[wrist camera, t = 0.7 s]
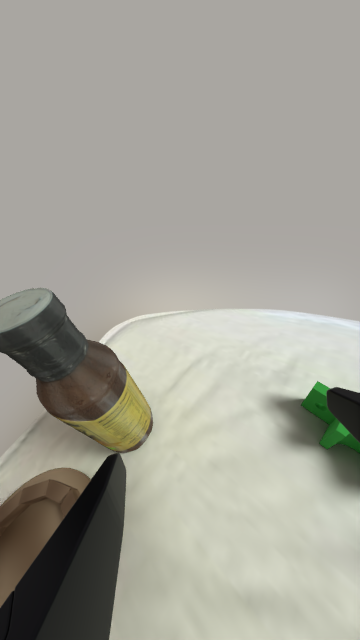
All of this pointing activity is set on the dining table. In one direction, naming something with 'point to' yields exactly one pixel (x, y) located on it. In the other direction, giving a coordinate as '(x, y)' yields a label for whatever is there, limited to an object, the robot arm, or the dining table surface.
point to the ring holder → (34, 520)
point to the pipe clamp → (328, 419)
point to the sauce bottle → (73, 371)
